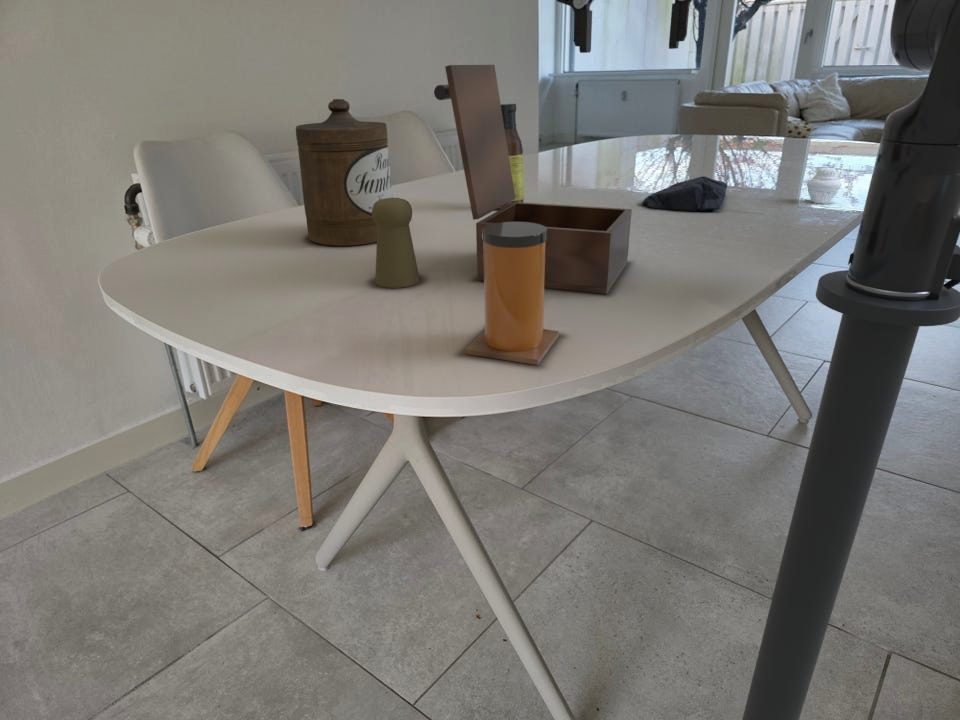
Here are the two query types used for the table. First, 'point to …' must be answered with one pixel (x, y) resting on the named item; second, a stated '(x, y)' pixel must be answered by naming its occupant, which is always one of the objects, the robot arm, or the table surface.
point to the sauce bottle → (513, 151)
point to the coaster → (526, 356)
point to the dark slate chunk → (689, 195)
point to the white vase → (823, 186)
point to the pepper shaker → (394, 244)
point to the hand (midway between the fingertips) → (628, 50)
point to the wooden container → (343, 176)
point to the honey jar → (514, 284)
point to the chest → (572, 243)
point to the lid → (480, 135)
